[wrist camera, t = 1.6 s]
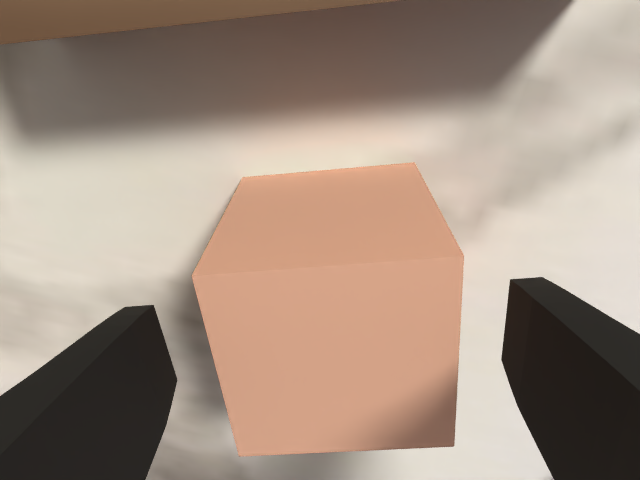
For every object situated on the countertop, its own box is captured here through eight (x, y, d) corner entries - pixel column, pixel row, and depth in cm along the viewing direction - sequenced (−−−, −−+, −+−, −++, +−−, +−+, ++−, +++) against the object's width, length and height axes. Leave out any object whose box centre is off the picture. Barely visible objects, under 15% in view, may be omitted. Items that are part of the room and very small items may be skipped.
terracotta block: (414, 305, 14) (454, 446, 9) (267, 314, 14) (239, 456, 10) (413, 161, 12) (463, 256, 7) (242, 176, 12) (191, 275, 8)
